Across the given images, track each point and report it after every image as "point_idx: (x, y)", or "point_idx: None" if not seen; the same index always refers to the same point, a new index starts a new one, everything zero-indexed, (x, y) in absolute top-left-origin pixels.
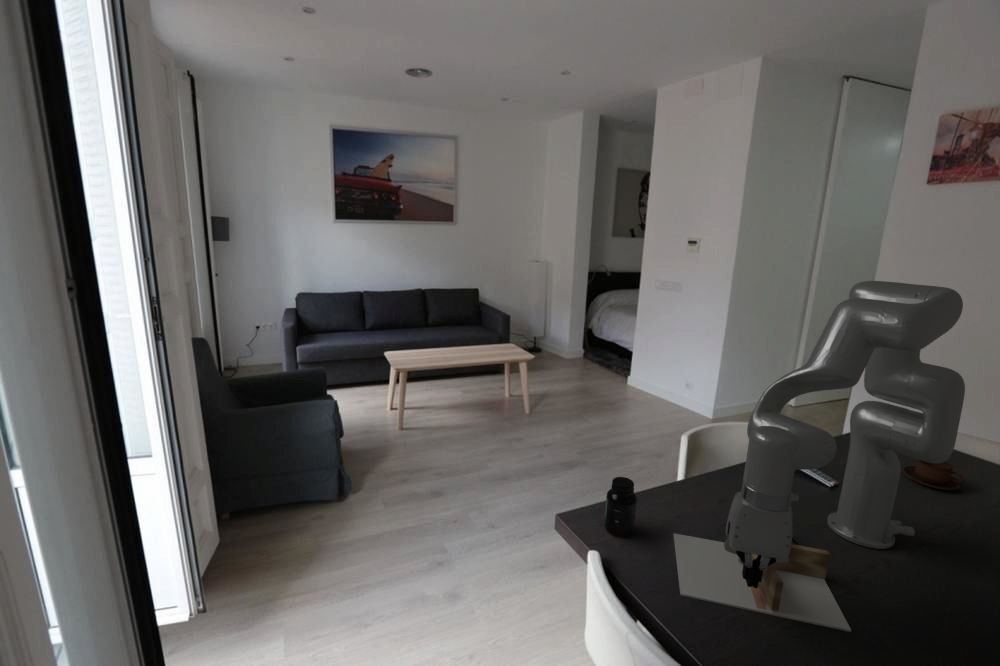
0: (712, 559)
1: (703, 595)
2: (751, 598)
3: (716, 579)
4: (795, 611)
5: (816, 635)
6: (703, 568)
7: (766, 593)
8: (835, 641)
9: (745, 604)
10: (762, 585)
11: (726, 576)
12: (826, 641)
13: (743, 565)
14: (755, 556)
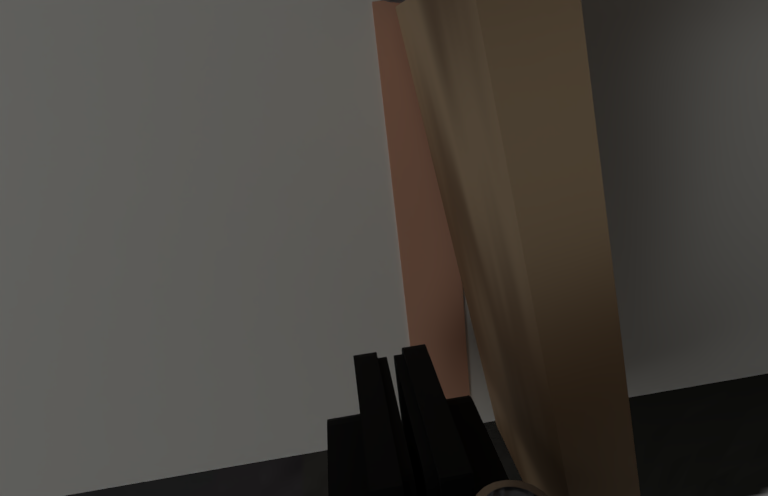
0: (95, 25)
1: (107, 464)
2: None
3: (166, 280)
4: (631, 348)
5: (675, 441)
6: (46, 197)
7: (494, 381)
8: (748, 437)
9: None
10: (482, 326)
11: (234, 215)
12: (706, 455)
13: (330, 489)
14: (482, 185)
